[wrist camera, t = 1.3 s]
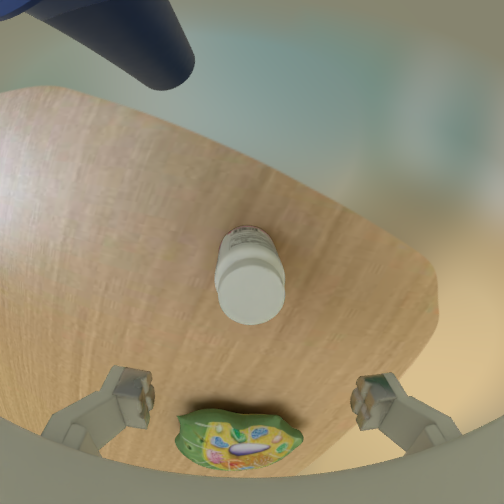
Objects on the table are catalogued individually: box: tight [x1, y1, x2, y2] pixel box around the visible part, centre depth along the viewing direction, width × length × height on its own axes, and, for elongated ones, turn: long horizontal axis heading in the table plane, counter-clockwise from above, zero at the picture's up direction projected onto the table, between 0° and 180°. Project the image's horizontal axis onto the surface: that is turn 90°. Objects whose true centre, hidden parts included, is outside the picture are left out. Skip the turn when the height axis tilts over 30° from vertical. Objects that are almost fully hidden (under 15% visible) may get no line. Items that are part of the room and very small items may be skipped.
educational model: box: [175, 409, 303, 471], centre depth 30 cm, size 13×16×5 cm
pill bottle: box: [215, 226, 285, 325], centre depth 21 cm, size 5×5×8 cm
